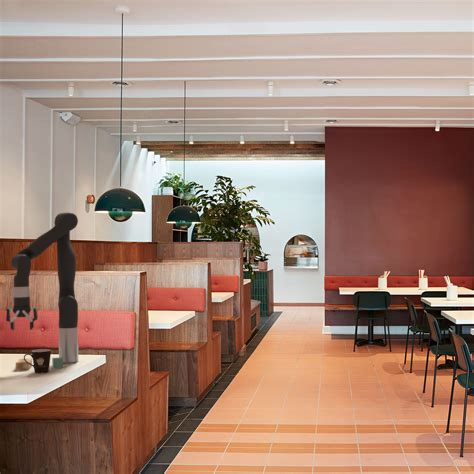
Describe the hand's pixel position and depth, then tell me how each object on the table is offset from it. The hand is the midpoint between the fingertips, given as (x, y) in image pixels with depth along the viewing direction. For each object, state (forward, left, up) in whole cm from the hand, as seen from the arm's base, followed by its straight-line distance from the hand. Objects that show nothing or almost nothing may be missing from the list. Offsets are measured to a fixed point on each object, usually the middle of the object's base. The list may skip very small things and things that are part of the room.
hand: (22, 329), depth 330 cm
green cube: (-17, +2, -18) cm, 25 cm away
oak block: (-1, +1, -19) cm, 19 cm away
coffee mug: (-10, +13, -19) cm, 25 cm away
